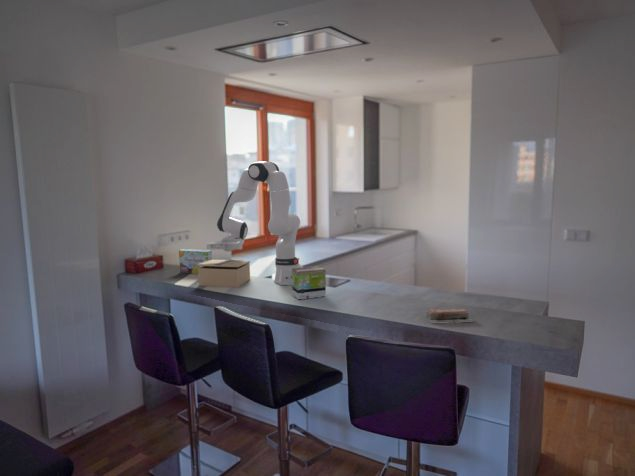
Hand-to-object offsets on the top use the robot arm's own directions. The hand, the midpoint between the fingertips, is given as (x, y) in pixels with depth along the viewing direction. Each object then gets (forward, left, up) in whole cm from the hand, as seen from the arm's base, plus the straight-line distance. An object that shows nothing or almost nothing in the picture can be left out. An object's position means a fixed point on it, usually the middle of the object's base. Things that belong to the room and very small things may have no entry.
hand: (218, 247), depth 264 cm
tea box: (-56, +13, -22) cm, 61 cm away
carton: (0, -7, -22) cm, 23 cm away
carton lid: (0, -7, -11) cm, 13 cm away
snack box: (+29, -27, -22) cm, 46 cm away
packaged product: (-124, +38, -23) cm, 132 cm away
